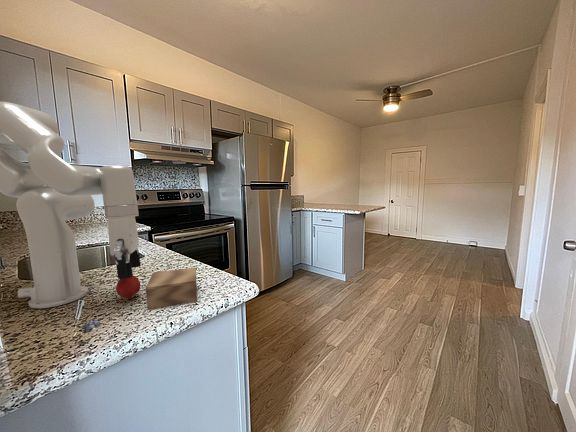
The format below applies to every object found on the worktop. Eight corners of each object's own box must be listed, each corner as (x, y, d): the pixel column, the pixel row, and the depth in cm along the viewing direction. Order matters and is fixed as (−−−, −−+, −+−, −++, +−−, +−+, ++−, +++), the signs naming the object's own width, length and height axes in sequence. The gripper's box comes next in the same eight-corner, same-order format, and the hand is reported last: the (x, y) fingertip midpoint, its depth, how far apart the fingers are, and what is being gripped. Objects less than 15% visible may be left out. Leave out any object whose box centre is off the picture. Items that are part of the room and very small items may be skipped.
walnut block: (147, 309, 64) (145, 287, 63) (154, 291, 75) (153, 272, 74) (196, 301, 68) (195, 280, 67) (196, 285, 79) (195, 267, 78)
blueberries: (68, 344, 51) (67, 336, 51) (69, 325, 57) (68, 318, 57) (107, 332, 56) (107, 324, 55) (105, 315, 62) (104, 308, 61)
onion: (129, 304, 66) (126, 276, 66) (112, 302, 68) (108, 275, 67) (146, 295, 72) (143, 269, 71) (129, 293, 73) (126, 268, 72)
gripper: (115, 210, 74) (123, 265, 76) (92, 216, 57) (103, 286, 60) (144, 208, 76) (150, 261, 78) (129, 213, 60) (138, 280, 62)
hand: (130, 272), depth 69 cm, fingers open, 9 cm apart
